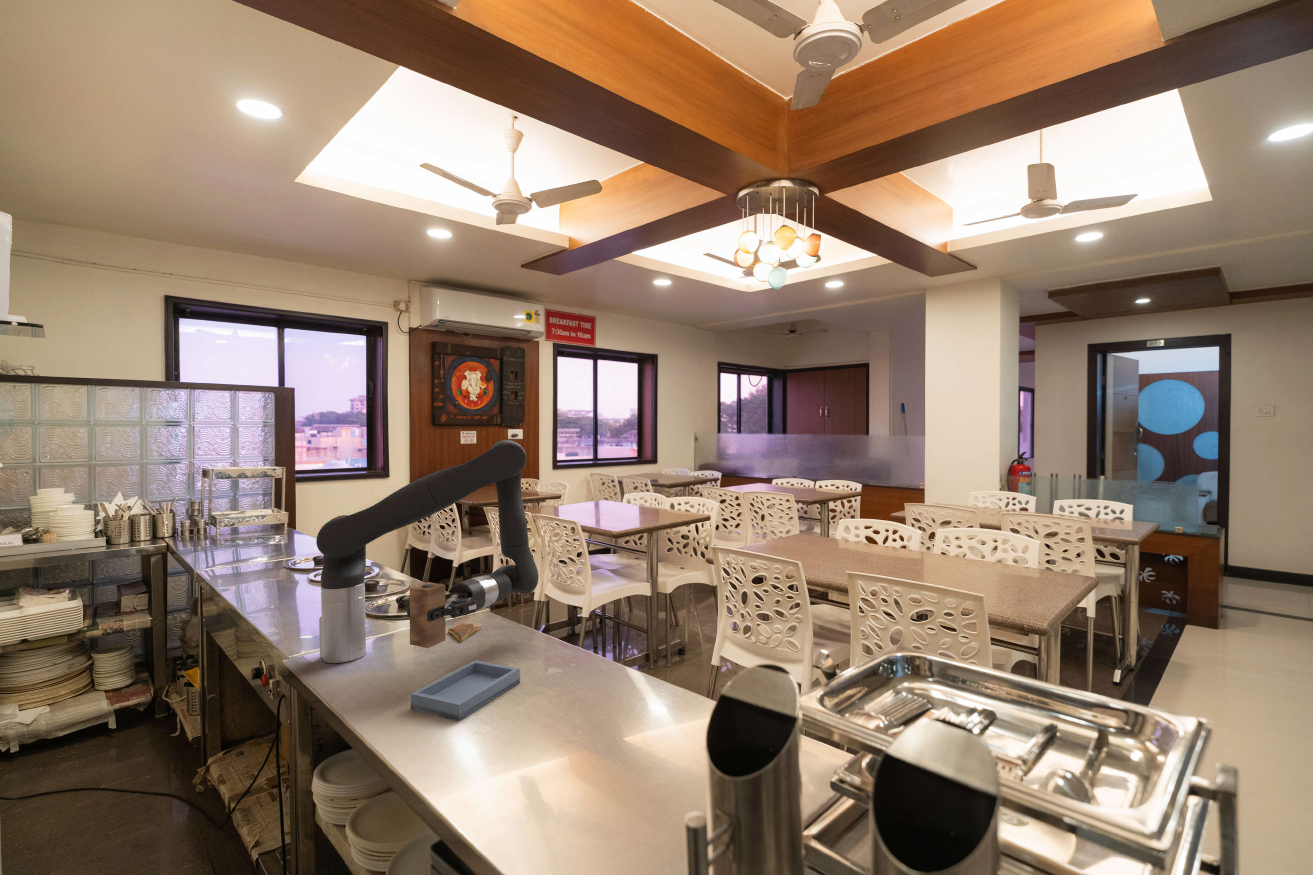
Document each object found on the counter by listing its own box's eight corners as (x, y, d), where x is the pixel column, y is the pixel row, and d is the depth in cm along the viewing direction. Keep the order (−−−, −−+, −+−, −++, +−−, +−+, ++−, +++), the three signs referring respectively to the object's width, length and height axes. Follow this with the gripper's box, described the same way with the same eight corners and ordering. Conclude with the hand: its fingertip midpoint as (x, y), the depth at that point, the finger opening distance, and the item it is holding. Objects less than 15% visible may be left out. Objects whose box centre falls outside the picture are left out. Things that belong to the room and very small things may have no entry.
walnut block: (409, 644, 127) (409, 586, 127) (427, 636, 132) (427, 581, 132) (427, 648, 125) (427, 589, 125) (445, 640, 130) (445, 584, 130)
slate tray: (411, 709, 116) (410, 693, 116) (475, 673, 133) (475, 660, 133) (459, 720, 111) (459, 704, 111) (520, 682, 128) (519, 668, 128)
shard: (461, 644, 152) (461, 637, 152) (433, 642, 154) (433, 635, 154) (482, 630, 163) (482, 623, 163) (456, 628, 164) (456, 622, 164)
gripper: (450, 575, 144) (392, 592, 129) (498, 581, 138) (444, 601, 123) (450, 606, 144) (392, 627, 129) (498, 614, 139) (444, 637, 123)
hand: (418, 614), depth 126 cm, fingers closed on walnut block, 5 cm apart
